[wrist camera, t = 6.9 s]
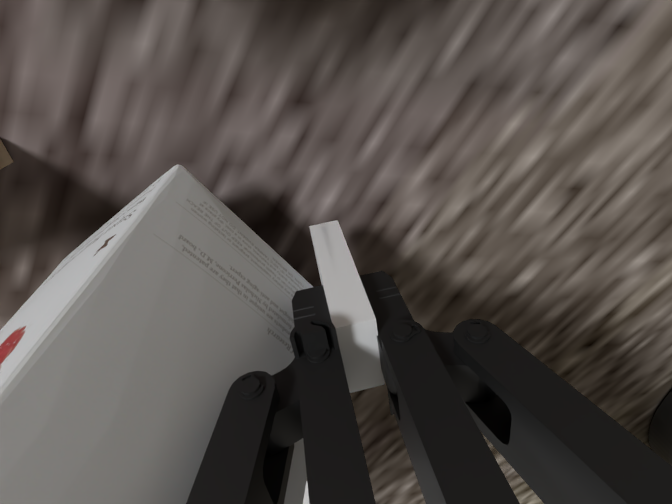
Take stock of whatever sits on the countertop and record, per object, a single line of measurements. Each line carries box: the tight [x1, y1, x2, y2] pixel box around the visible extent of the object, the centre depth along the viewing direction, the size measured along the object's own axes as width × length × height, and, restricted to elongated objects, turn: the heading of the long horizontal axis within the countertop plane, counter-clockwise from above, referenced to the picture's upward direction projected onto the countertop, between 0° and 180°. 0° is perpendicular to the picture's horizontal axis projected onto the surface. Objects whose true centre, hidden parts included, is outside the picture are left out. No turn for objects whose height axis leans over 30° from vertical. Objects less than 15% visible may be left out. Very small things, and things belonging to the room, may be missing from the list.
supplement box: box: [0, 165, 313, 504], centre depth 13 cm, size 9×9×15 cm
